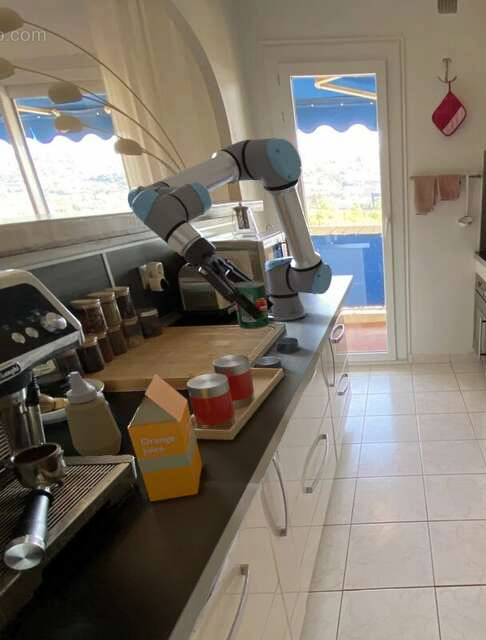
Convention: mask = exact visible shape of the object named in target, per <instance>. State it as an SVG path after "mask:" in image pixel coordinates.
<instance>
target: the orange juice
mask: <svg viewBox="0 0 486 640" xmlns="http://www.w3.org/2000/svg"><path fill="white" fill-rule="evenodd" d="M190 412H191V411H190V408H189V404H188V399H187V398H186V397H184V396H183V395H182V394H181V393H180V392H178V391H177V390H176V389H175V388H174V387H173V386H171V384H169V383H168V382H167V381H165V380H164V379H163V378H162V377H160V376H159V375H158V373H155V374H154V376H153V378H152V380H151V382H150V384H149V385H148V387H147V389H146V391H145V393H144V397H143V399H142V401H141V403H140V404H139V406H138V408H137V409H136V412H135V413H134V415H133V417H132V418H131V421H130V422H129V425H128V426H127V432H128V434H129V438H130V441H131V443H132V448H133V449H134V454H135V457H136V459H137V464H138V467H139V470H140V473H141V475H142V479H143V481H144V485H145V488H146V491H147V495H148V498H149V501H150V502H156V501H163V500H168V499H169V500H170V499H175V498H180V497H186V496H193V495H197V494H198V493H199V488H200V483H201V480H200V478H201V474H202V470H203V469H202V468H203V463H202V458H201V454H200V449H199V446H198V441H197V440H198V439H197V438H196V436H195V432H194V428H193V424H192V420H191V416H192V415H191V413H190Z"/></svg>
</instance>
